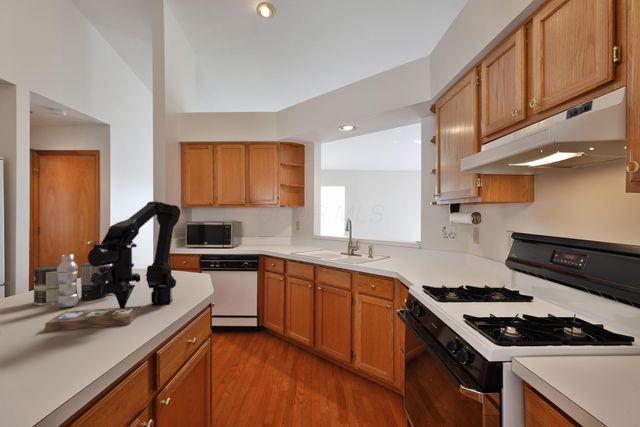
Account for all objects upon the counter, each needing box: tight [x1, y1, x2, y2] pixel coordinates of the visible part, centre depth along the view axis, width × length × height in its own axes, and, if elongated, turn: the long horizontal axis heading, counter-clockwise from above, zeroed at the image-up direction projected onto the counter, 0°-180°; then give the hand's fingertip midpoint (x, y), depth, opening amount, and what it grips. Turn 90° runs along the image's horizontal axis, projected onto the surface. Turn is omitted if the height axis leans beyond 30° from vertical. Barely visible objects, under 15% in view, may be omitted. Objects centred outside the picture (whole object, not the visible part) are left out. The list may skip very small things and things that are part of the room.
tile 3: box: [111, 309, 133, 315], centre depth 106 cm, size 5×5×2 cm
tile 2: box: [57, 312, 83, 319], centre depth 103 cm, size 5×5×2 cm
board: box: [44, 305, 142, 332], centre depth 105 cm, size 23×12×2 cm, turn 105°
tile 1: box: [85, 311, 109, 317], centre depth 105 cm, size 5×5×2 cm
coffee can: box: [32, 264, 60, 306], centre depth 129 cm, size 10×10×14 cm
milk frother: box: [79, 262, 111, 301], centre depth 139 cm, size 14×16×15 cm
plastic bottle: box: [56, 253, 80, 309], centre depth 121 cm, size 6×7×20 cm
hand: (122, 308), depth 106 cm, fingers closed
